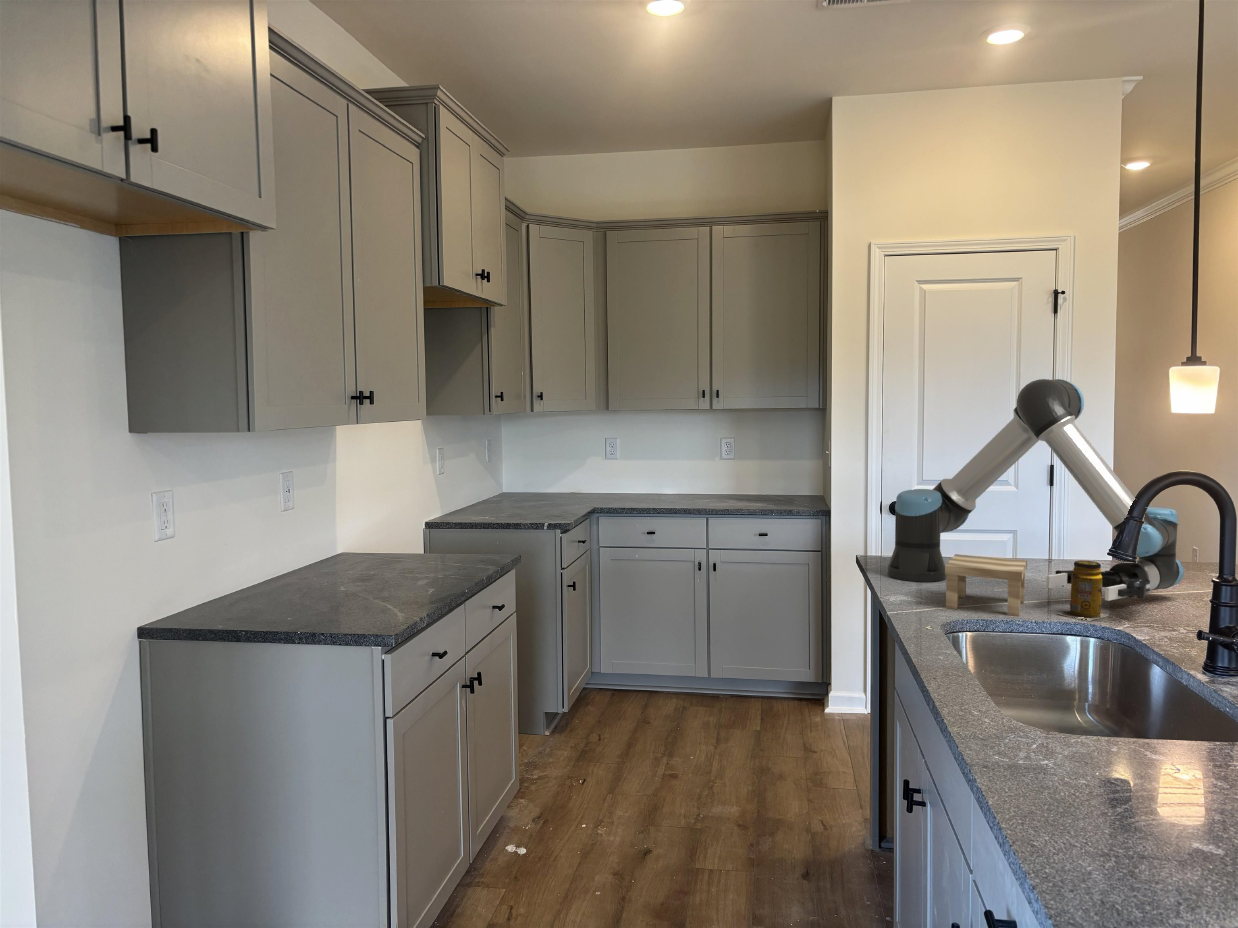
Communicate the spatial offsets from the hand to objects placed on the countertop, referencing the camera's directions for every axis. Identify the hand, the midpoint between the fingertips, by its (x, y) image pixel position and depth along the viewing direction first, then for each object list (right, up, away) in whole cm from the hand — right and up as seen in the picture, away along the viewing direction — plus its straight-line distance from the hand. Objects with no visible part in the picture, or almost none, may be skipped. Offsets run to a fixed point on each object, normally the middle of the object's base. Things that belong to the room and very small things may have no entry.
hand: (1076, 587), depth 184 cm
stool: (-15, -6, +12) cm, 20 cm away
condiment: (+3, -7, +2) cm, 7 cm away
